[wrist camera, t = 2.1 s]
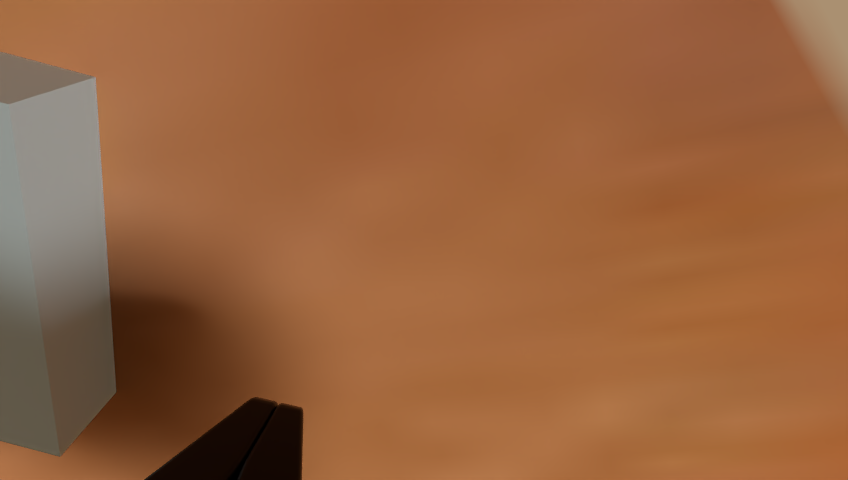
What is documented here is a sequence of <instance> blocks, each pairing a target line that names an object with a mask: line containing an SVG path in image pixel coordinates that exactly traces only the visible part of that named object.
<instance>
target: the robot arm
mask: <svg viewBox="0 0 848 480" xmlns="http://www.w3.org/2000/svg"><path fill="white" fill-rule="evenodd" d="M302 446H303V409H302V408H301V407H297V406H293V405H289V404H284V403H281V404H279V405H278V404H277V403H276V402H275V401H271V400H267V399H263V398H258V397H255V398H252V399H250V400H248V401H247V402H246V403H244V404H243V405H242V406H241V407H239V408H238V409H237V410H235V411H234V412H233V413H231V414H230V415H229V416H227V417H226V418H225V419H223V420H222V421H221V422H219V423H218V424H217V425H216V426H214V427H213V428H212V429H210V430H209V431H208V432H206V433H205V434H204V435H202V436H201V437H200V438H198V439H197V440H196V441H194V442H193V443H192V444H191V445H189V446H188V447H187V448H185V449H184V450H183V451H181V452H180V453H179V454H177V455H176V456H175V457H173V458H172V459H171V460H169V461H168V462H167V463H166V464H164V465H163V466H162V467H160V468H159V469H158V470H156V471H155V472H154V473H152V474H151V475H150V476H148V477H147V478H146V479H145V480H302Z"/></svg>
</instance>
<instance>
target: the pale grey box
mask: <svg viewBox="0 0 848 480" xmlns="http://www.w3.org/2000/svg"><path fill="white" fill-rule="evenodd" d="M115 393H116V379H115V363H114V348H113V333H112V318H111V303H110V288H109V273H108V258H107V243H106V228H105V213H104V198H103V183H102V168H101V153H100V138H99V123H98V108H97V93H96V78H95V77H93V76H89V75H86V74H82V73H78V72H74V71H71V70H67V69H63V68H59V67H56V66H52V65H48V64H44V63H41V62H37V61H33V60H29V59H26V58H22V57H18V56H14V55H11V54H7V53H3V52H0V441H3V442H7V443H11V444H14V445H18V446H22V447H26V448H29V449H33V450H37V451H41V452H44V453H48V454H52V455H56V456H61V455H62V454H63V453H64V452H65V451H66V450H67V448H68V447H69V446H70V445H71V444H72V443H73V441H74V440H75V439H76V438H77V437H78V436H79V435H80V433H81V432H82V431H83V430H84V429H85V428H86V427H87V425H88V424H89V423H90V422H91V421H92V420H93V418H94V417H95V416H96V415H97V414H98V413H99V412H100V410H101V409H102V408H103V407H104V406H105V405H106V404H107V402H108V401H109V400H110V399H111V398H112V397H113V395H114V394H115Z"/></svg>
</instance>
